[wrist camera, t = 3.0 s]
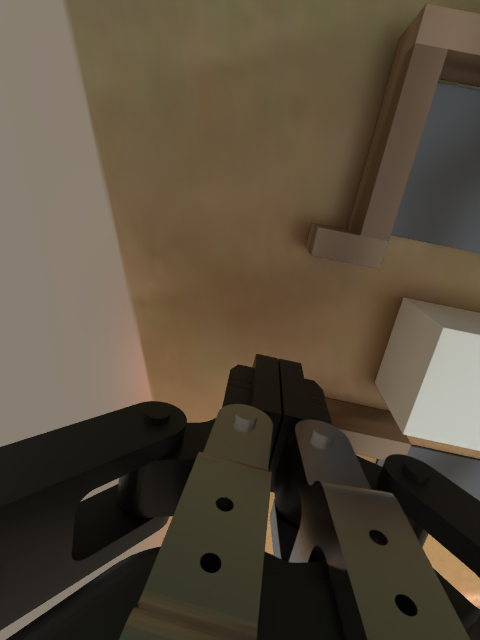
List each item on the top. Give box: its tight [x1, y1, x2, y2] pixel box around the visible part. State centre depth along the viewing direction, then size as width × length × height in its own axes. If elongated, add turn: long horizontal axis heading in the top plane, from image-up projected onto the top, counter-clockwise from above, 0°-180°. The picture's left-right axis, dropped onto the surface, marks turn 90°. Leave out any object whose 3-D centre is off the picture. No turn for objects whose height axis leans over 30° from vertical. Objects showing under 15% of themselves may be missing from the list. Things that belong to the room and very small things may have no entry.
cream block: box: [375, 297, 480, 451], centre depth 18 cm, size 5×5×5 cm
